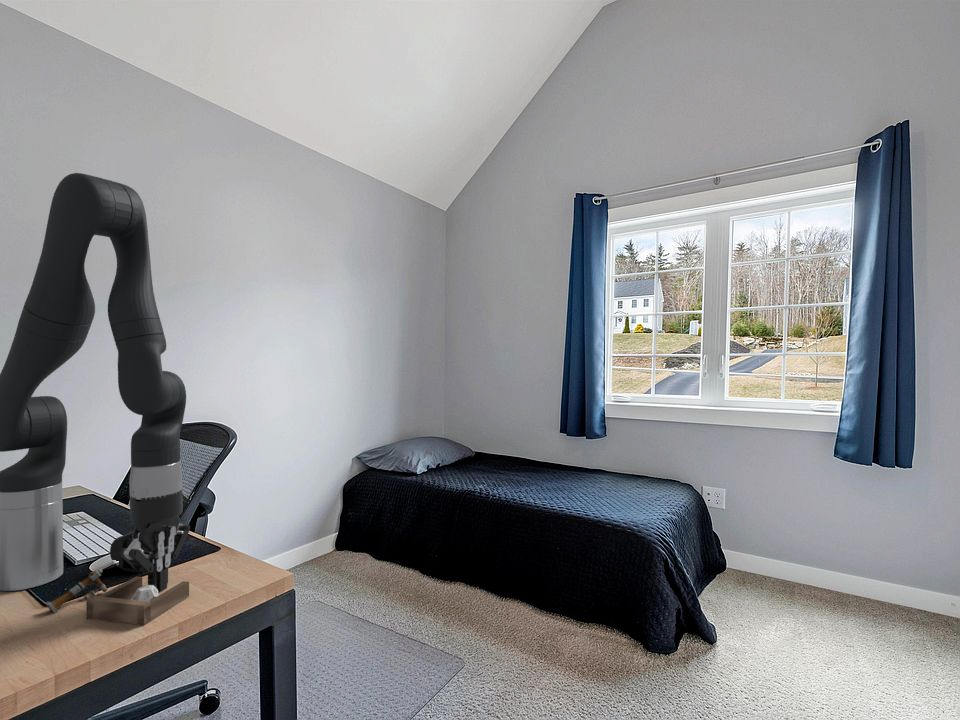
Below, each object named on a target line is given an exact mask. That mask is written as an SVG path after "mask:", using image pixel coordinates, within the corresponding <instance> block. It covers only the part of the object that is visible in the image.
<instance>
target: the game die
mask: <svg viewBox="0 0 960 720" xmlns="http://www.w3.org/2000/svg"><path fill="white" fill-rule="evenodd" d="M159 595H160V593H158V590H157V588H156V587H155V586H154V585H148V584H145V585H142V587H140V588H138V589H137V590H136V592H135V593H134V595H133V597H132V600H138V601H147V602H149V601H150V600H152V599H154V598H155V597H157V596H159Z"/></svg>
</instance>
